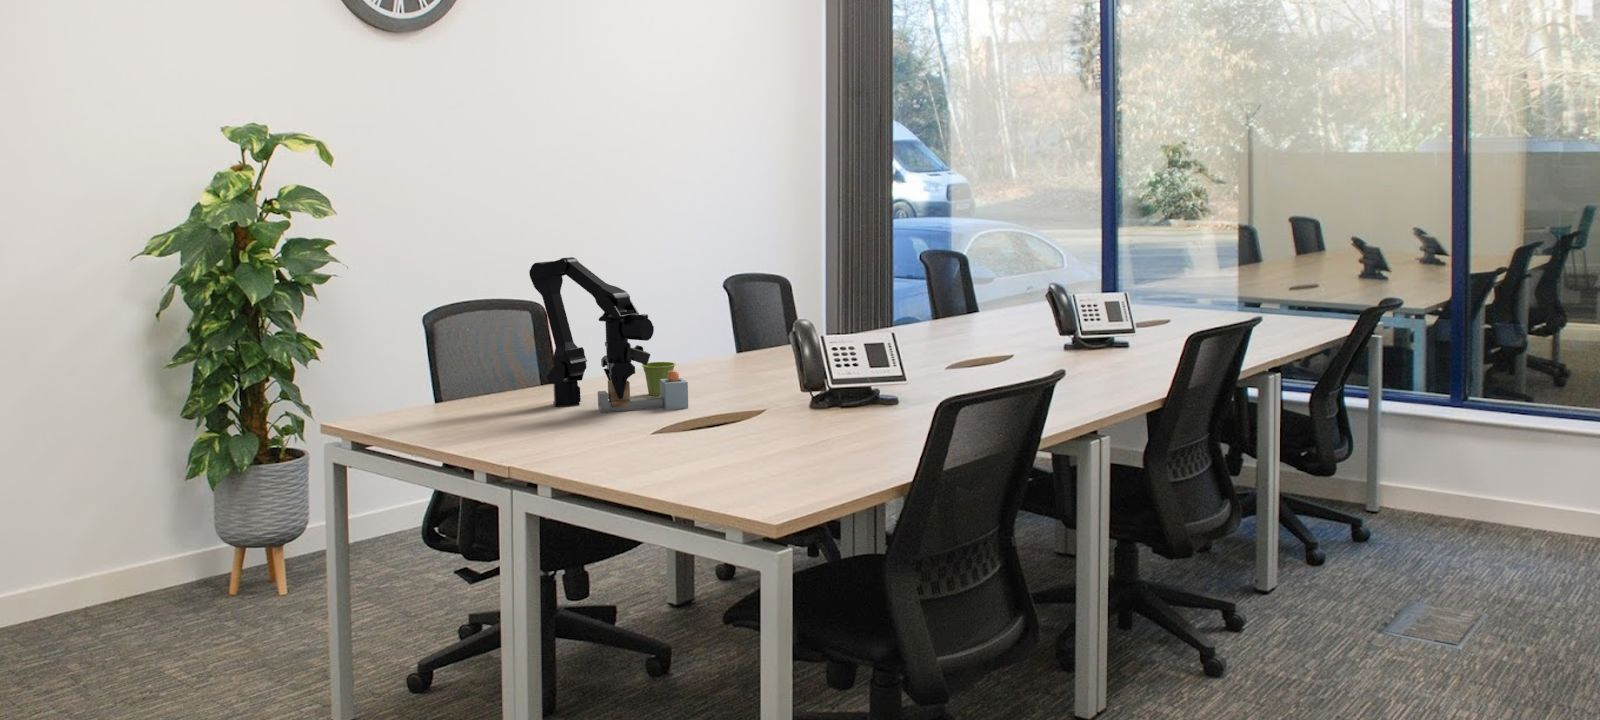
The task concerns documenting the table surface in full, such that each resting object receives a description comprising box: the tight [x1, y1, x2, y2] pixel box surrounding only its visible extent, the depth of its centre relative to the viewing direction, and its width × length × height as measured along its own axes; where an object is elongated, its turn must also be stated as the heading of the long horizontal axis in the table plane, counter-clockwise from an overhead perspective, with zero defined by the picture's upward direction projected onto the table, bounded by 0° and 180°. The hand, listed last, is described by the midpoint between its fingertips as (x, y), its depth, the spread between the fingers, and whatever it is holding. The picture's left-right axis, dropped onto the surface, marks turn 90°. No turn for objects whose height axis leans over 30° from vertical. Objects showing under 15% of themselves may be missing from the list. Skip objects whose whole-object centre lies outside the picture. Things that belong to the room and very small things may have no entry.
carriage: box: [607, 379, 631, 408], centre depth 363 cm, size 5×5×6 cm
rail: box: [597, 390, 665, 414], centre depth 364 cm, size 18×5×5 cm, turn 106°
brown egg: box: [668, 370, 680, 382], centre depth 366 cm, size 3×3×4 cm
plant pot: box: [641, 361, 676, 397], centre depth 387 cm, size 9×9×9 cm
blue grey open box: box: [659, 377, 689, 411], centre depth 367 cm, size 6×8×7 cm
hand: (618, 397), depth 363 cm, fingers closed on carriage, 5 cm apart
